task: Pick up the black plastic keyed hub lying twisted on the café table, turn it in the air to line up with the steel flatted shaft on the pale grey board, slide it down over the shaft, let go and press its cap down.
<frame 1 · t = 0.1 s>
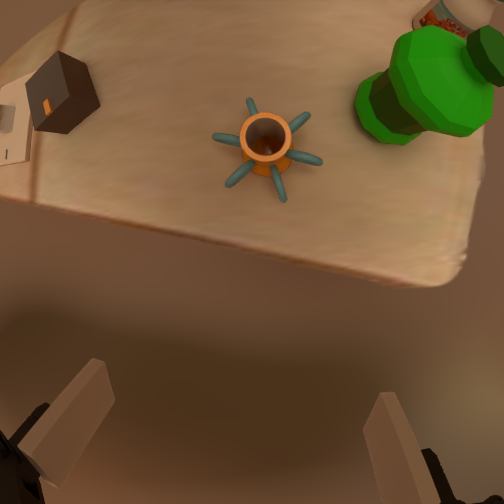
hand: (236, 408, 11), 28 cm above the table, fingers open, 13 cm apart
milk bottle: (430, 34, 28), on the table
board: (14, 120, 35), on the table
plastic bottle: (380, 114, 33), on the table
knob: (75, 97, 34), on the table
orange tube with rings: (268, 154, 35), on the table
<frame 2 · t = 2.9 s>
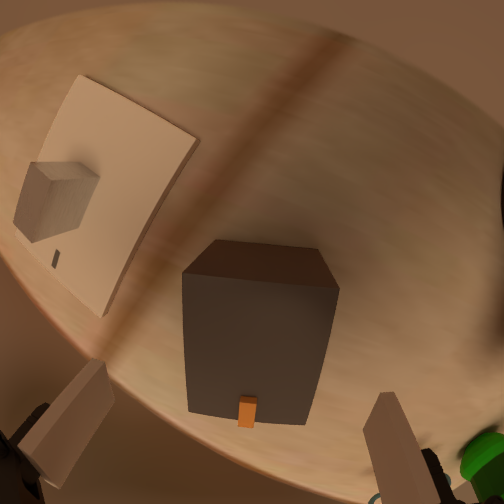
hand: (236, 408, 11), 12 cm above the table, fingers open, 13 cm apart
board: (86, 193, 22), on the table
plastic bottle: (476, 442, 27), on the table
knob: (260, 305, 23), on the table
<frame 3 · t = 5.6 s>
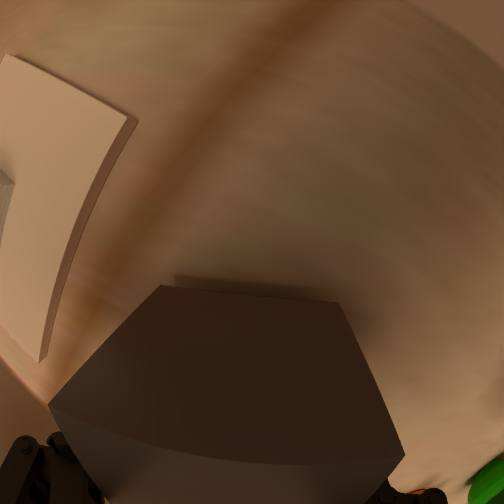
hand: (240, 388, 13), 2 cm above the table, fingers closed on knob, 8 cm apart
board: (8, 205, 13), on the table
plastic bottle: (486, 468, 20), on the table
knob: (240, 384, 13), point 2 cm above the table, touching gripper
orange tube with rings: (405, 499, 21), on the table
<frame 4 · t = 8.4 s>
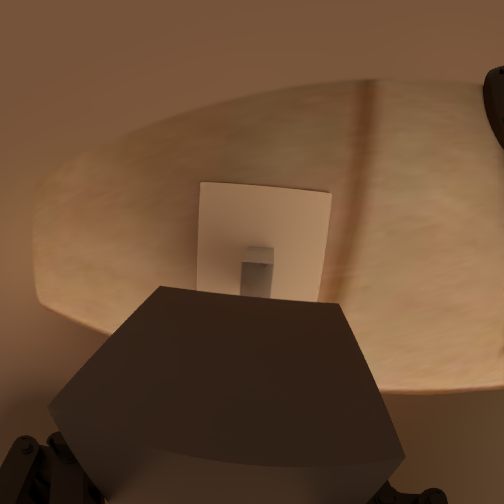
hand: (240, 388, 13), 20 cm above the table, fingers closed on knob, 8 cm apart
board: (259, 265, 33), on the table
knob: (240, 385, 13), point 20 cm above the table, touching gripper
when the fingers open (2 cm above the table, at t = 11.5 s): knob stays where it is, resting on board.
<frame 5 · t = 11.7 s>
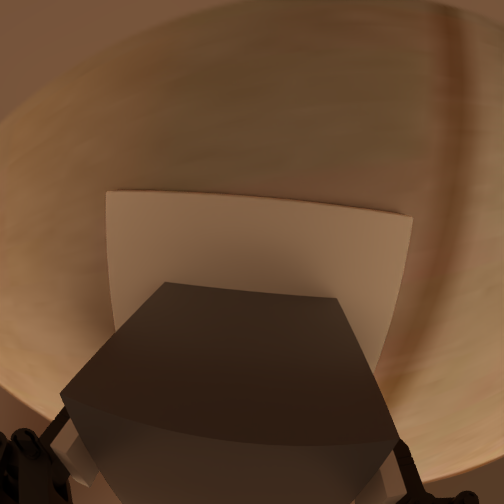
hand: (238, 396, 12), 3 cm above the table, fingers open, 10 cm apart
board: (244, 364, 15), on the table
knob: (242, 378, 14), point 1 cm above the table, touching board
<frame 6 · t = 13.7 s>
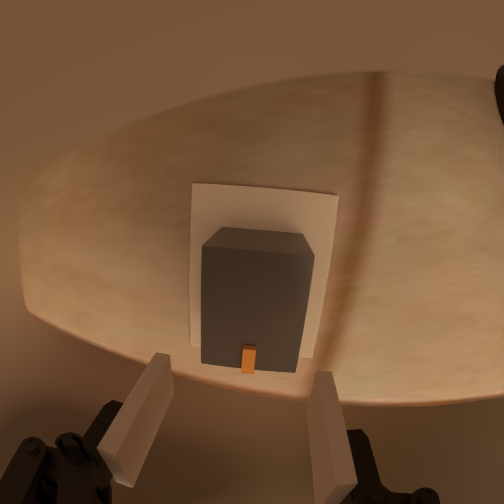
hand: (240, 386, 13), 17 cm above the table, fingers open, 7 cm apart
board: (258, 275, 29), on the table
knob: (258, 279, 28), point 1 cm above the table, touching board
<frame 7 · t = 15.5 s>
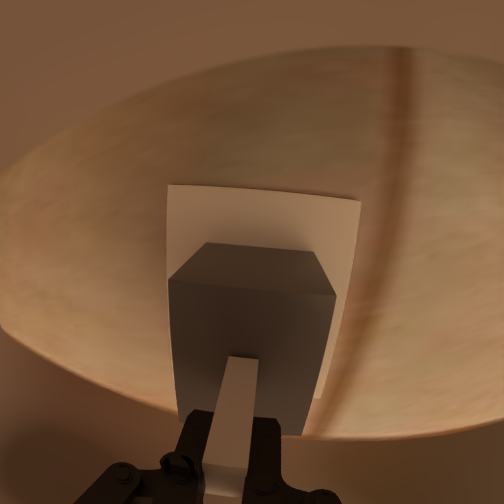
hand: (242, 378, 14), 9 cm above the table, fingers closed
board: (254, 303, 23), on the table
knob: (254, 310, 22), point 1 cm above the table, touching board, gripper
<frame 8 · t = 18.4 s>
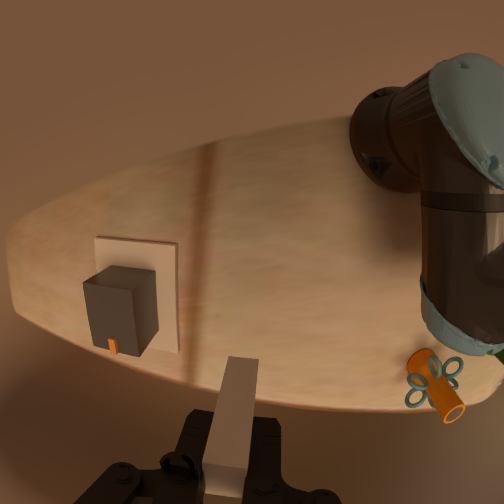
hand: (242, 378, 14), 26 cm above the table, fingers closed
board: (137, 295, 42), on the table
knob: (134, 298, 41), point 1 cm above the table, touching board
orange tube with rings: (419, 361, 42), on the table
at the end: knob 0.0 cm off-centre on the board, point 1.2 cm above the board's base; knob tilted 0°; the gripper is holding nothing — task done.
